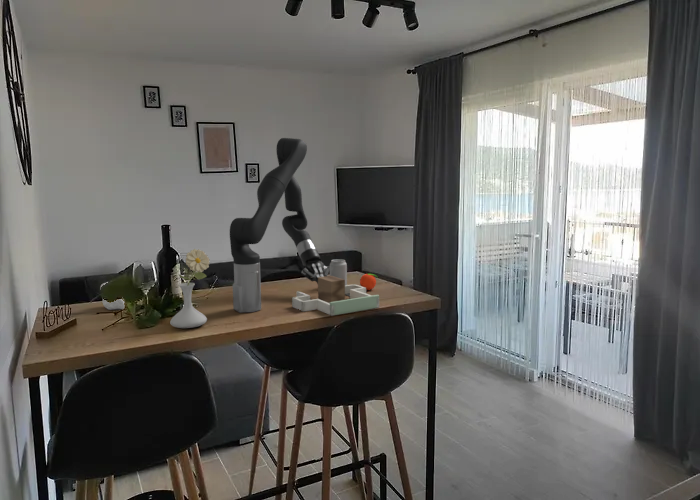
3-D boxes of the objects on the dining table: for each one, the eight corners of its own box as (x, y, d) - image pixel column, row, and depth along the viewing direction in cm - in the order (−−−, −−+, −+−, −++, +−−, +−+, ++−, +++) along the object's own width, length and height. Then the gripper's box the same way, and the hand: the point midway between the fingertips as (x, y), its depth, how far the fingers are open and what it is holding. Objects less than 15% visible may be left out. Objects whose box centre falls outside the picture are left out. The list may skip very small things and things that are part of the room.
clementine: (379, 288, 217) (379, 272, 216) (378, 291, 210) (378, 275, 209) (360, 287, 218) (360, 271, 217) (359, 291, 211) (359, 274, 210)
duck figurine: (106, 311, 189) (85, 291, 183) (121, 297, 193) (101, 276, 186) (120, 317, 181) (98, 296, 175) (135, 302, 185) (114, 281, 178)
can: (350, 286, 220) (350, 259, 218) (338, 289, 214) (338, 262, 213) (338, 284, 225) (338, 258, 223) (326, 287, 219) (325, 260, 218)
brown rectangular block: (331, 305, 188) (331, 281, 187) (318, 299, 196) (317, 277, 195) (345, 302, 191) (344, 279, 190) (331, 297, 200) (331, 275, 198)
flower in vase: (171, 333, 155) (167, 253, 152) (169, 323, 165) (164, 248, 162) (214, 328, 160) (211, 250, 157) (209, 319, 171) (206, 246, 167)
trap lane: (317, 318, 171) (316, 305, 170) (283, 302, 193) (282, 290, 192) (391, 305, 188) (391, 293, 187) (352, 291, 210) (352, 281, 209)
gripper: (296, 249, 200) (312, 284, 192) (325, 246, 207) (341, 280, 199) (291, 260, 205) (305, 295, 197) (319, 257, 212) (334, 291, 204)
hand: (323, 288), depth 198 cm, fingers closed
